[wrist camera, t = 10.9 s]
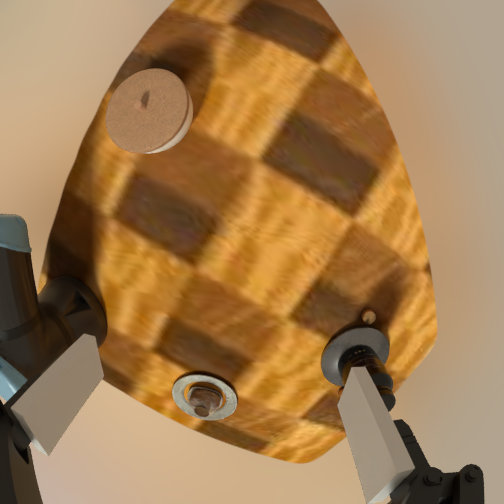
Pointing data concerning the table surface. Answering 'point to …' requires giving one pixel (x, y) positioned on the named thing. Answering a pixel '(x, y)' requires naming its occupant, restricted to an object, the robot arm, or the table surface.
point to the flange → (348, 340)
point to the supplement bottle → (374, 366)
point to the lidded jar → (149, 112)
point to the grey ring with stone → (204, 398)
